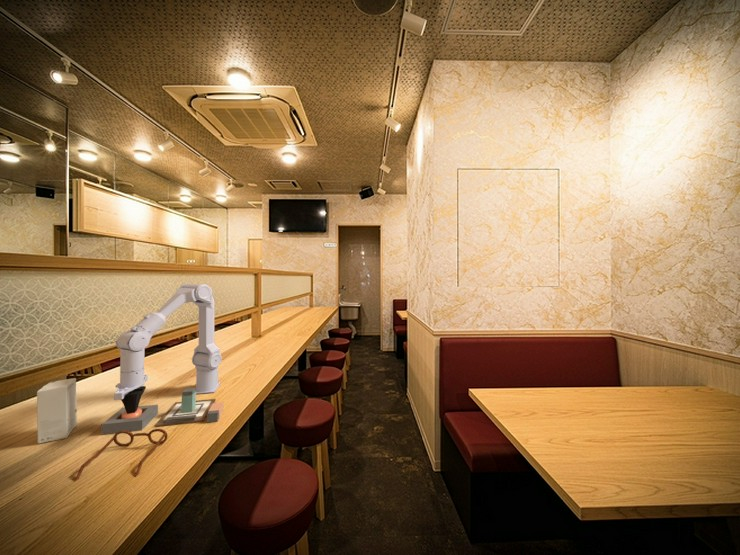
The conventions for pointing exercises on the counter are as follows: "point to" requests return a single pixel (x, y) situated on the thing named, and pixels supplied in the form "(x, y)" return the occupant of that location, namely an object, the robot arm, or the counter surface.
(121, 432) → the glasses
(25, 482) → the counter surface
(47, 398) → the skincare box
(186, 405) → the block
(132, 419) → the button housing
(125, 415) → the button
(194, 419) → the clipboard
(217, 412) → the terracotta marker
